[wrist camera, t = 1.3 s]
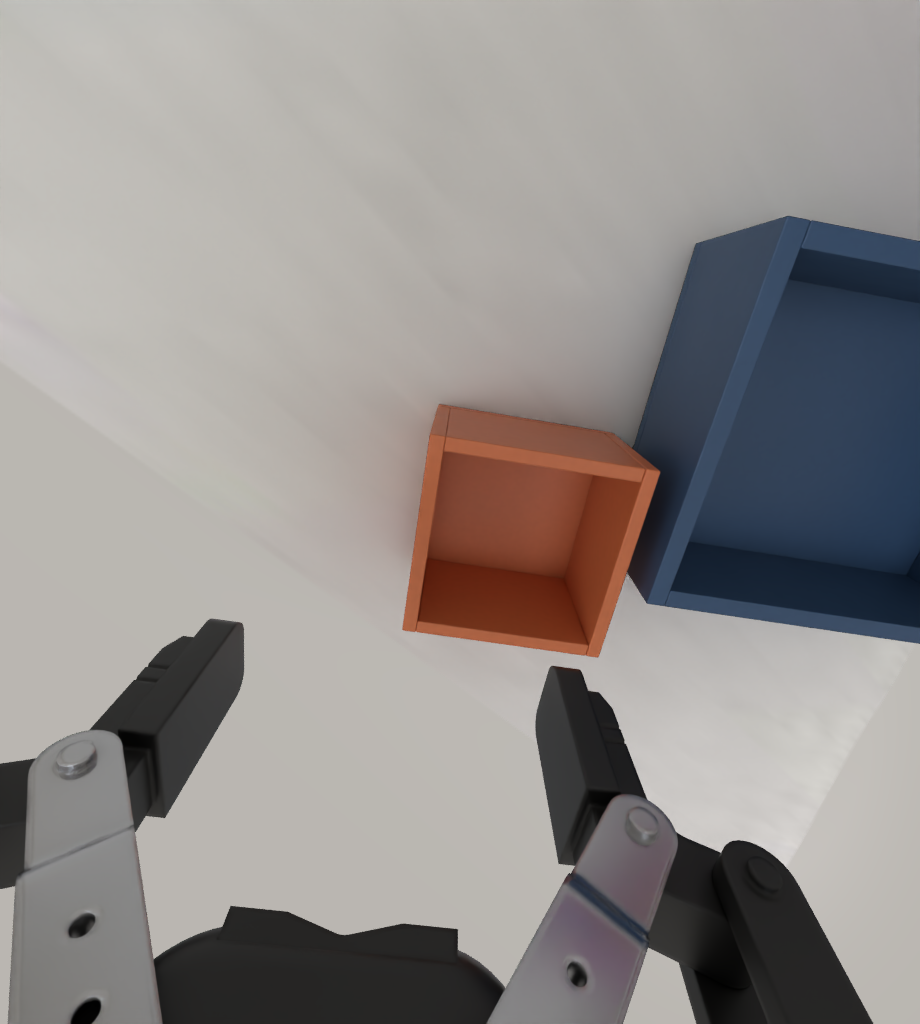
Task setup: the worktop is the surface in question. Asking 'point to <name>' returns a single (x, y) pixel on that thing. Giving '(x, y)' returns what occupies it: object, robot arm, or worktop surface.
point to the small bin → (524, 531)
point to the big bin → (789, 433)
